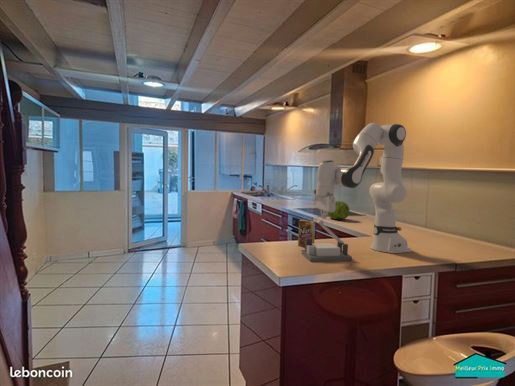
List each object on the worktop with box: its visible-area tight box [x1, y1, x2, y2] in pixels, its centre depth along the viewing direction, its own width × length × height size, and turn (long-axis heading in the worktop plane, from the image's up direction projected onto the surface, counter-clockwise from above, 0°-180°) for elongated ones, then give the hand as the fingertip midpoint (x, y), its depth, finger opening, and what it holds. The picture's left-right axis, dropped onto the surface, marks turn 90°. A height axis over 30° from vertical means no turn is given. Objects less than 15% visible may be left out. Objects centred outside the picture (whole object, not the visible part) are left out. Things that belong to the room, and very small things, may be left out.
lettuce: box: [327, 200, 350, 221], centre depth 293 cm, size 17×23×17 cm
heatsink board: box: [301, 238, 353, 262], centre depth 166 cm, size 22×14×9 cm, turn 100°
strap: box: [315, 218, 345, 246], centre depth 165 cm, size 18×4×2 cm
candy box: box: [297, 219, 316, 248], centre depth 187 cm, size 9×4×15 cm, turn 56°
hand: (323, 218), depth 164 cm, fingers closed
